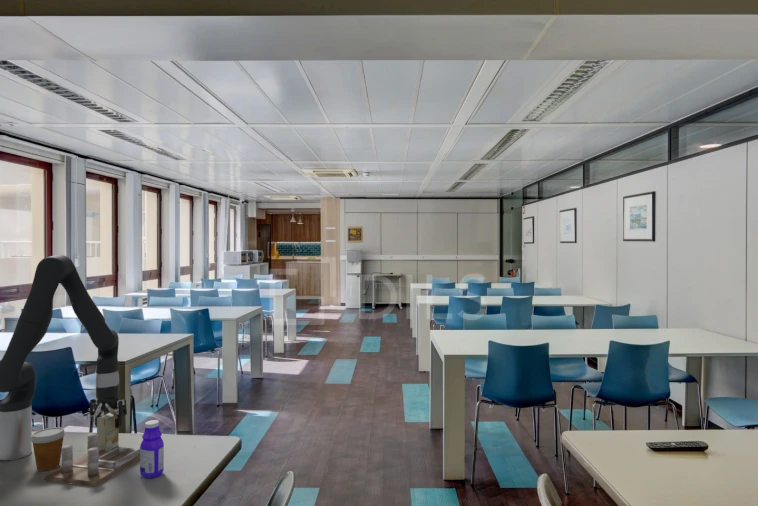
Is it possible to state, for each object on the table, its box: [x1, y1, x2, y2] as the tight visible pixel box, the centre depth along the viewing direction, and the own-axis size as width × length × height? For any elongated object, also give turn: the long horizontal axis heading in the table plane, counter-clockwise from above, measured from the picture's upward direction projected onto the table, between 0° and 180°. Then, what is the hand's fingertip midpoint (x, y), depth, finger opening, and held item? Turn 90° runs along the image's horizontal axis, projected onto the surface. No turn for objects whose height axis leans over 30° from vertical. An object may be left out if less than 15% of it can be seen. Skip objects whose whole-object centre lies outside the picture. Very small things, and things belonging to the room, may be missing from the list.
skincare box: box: [96, 412, 120, 451], centre depth 168 cm, size 6×4×12 cm
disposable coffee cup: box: [31, 426, 66, 472], centre depth 153 cm, size 10×10×12 cm
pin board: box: [42, 432, 140, 487], centre depth 151 cm, size 20×20×10 cm
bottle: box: [139, 419, 165, 479], centre depth 147 cm, size 7×6×17 cm
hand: (108, 427), depth 168 cm, fingers open, 8 cm apart
